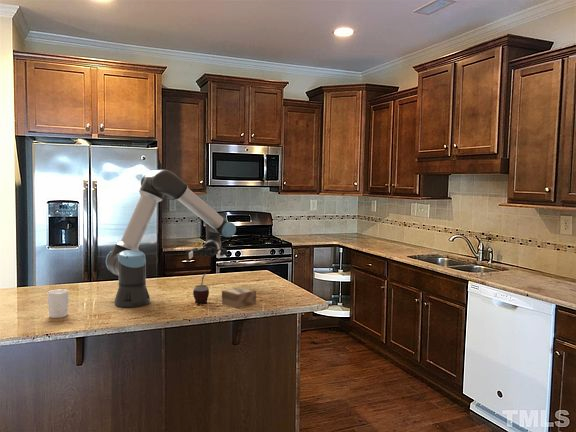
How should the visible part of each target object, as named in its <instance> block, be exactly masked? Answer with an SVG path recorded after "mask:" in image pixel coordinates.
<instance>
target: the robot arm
mask: <svg viewBox="0 0 576 432" xmlns="http://www.w3.org/2000/svg"><path fill="white" fill-rule="evenodd" d="M138 192H139V194H140V196H139V199H138V202H137V204H136V206H135V208H134V210H133V212H132V215H131V217H130V219H129V222H128V223H127V227H126V229H125V231H124V233H123V236H122V237H121V240H119V242H116V243H115V245H114V247H113V250H110V252H108V254H107V255H106V258H105V266H106V268H107V270H108V271H109V272H110V273H112V275H116V276H117V277H118V288H117V291H116V294H115V298H114V306H116V307H119V308H137V307H138V308H139V307H143V306H144V307H145V306H147V305H148V304H150V303H151V302H150V301H151V297H150V294H149V291H148V289H147V281H146V280H147V271H146V270H147V269H146V268H147V259H146V254H145V252H143V251H141V250H140V249H139V246H140V245H141V243H142V239H143V237H144V235H145V233H146V231H147V228H148V226H149V223H150V222H151V220H152V219H151V218H152V217H153V214H154V213H155V210H156V207H157V205H158V203H160V202H162V201H163V199H164V197H165V196H168V197H169V198H171V199H173V200H174V201H179V202H180V204H182V205H183V206H184V207H186V208H187V209H188V210H189V211H191V212H192V213H193V214H194V215H196V216H197V217H198V218H200V219H201V220H202V221H203V222H204V224H205V241H206V242H205V243H204V244H203V245H202V247H200V248H199V247H195V248H192V249H191V248H190V249H189V250H188V249H187V250H185V256H187V257H188V259H189V260H191V259H192V258H193V257H194V256H198V255H200V256H205V257H214V256H215V255H217V259H220V258H221V257H222V256H228V249H225V248H223V247H222V241H221V237H224V238H226V237H227V238H228V237H229V238H230V237H233V236H234V235H235V234H236V232H237V228H236V227H237V226H236V225H235V223H233V222H231V221H228V220H226V219H225V218H224V217H223V216H222V215H221V214H220V213H218V212H217V211H216V210H215V209H213V208H212V206H210V205H209V204H208V203H206V201H204V200H202V199H201V198H200V197H199V196H198V195H197V194H196V193H194V191H192V190H191V189H190V188H189V185H188V184H187V183H186V182H185V181H184V180H182V179H181V177H179V176H178V175H176V173H174V172H172V171H171V170H169V169H150V170H148V171H146V172H144V173H143V175H142V176H141V178H140V189H139V190H138Z"/></svg>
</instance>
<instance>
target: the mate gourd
mask: <svg viewBox="0 0 576 432" xmlns="http://www.w3.org/2000/svg"><path fill="white" fill-rule="evenodd" d="M205 275H206V273H204V274H202V277H201V283H200V284H199V285H195V287H194V288H193V292H192V295H193V298H194V301H195V302H194V303H195V304H196V306H201V305H208V299H209V294H210V291H209V287H208V286H207V285H206V284H205V285H204V284H203V282H204V278H205Z"/></svg>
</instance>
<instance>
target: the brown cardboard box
mask: <svg viewBox="0 0 576 432" xmlns="http://www.w3.org/2000/svg"><path fill="white" fill-rule="evenodd" d="M221 305H225V306H228V307H232V308H234V309H236V310H237V309H242V308H245V307H250V306H254V305H257V291H256V290H253V289H249V288H245V287H241V286H239V287H236V288H235V287H233V288H230V289H229V288H228V289H225V290H221Z"/></svg>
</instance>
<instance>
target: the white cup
mask: <svg viewBox="0 0 576 432" xmlns="http://www.w3.org/2000/svg"><path fill="white" fill-rule="evenodd" d="M69 293H70V291H69V289H54V290H53V289H52V290H49V291H47V292H46V294H47V305H48V308H47V309H48V316H49V318H53V319H59V318H64V317H67V316H68V314H69V303H70V302H69V300H70V299H69V295H70V294H69Z"/></svg>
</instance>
